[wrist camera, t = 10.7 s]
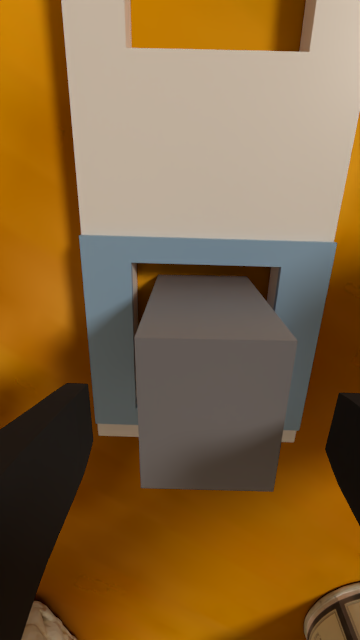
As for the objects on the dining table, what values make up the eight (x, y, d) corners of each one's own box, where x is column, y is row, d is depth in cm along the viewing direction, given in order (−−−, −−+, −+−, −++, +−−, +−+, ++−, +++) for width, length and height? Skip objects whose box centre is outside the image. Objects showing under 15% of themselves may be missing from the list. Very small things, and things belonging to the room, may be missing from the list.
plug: (246, 275, 14) (297, 340, 8) (237, 372, 16) (273, 491, 9) (158, 274, 14) (134, 337, 8) (159, 370, 16) (141, 487, 9)
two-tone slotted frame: (431, -361, 8) (482, -479, 7) (286, 426, 17) (296, 446, 16) (44, -363, 8) (15, -481, 7) (104, 420, 17) (96, 439, 16)
